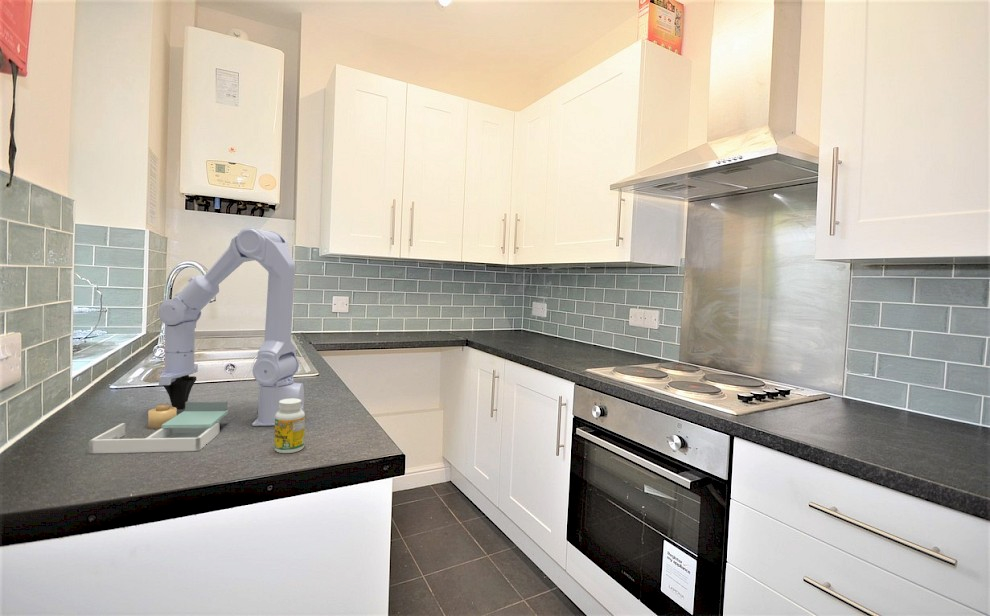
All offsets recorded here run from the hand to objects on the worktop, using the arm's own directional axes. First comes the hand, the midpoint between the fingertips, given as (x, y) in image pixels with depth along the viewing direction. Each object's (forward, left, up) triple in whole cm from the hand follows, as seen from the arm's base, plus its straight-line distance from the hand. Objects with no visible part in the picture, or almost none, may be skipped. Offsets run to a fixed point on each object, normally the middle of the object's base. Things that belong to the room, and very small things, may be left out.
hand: (179, 408), depth 107 cm
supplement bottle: (-29, +24, -2) cm, 38 cm away
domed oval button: (0, +8, -2) cm, 8 cm away
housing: (-4, +19, -1) cm, 19 cm away
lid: (-9, +13, +1) cm, 15 cm away
